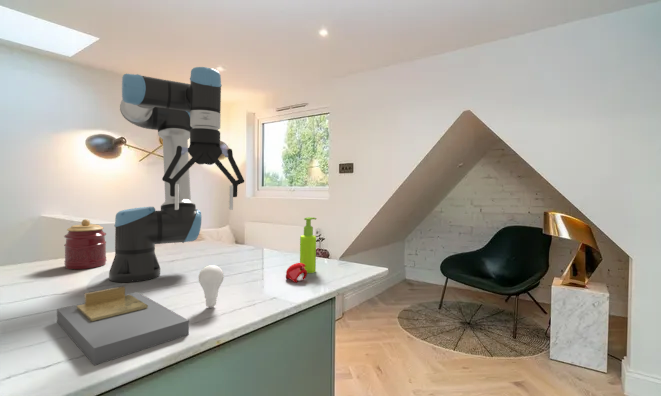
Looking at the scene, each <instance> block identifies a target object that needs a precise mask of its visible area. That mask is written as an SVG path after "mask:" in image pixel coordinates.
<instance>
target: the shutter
mask: <svg viewBox="0 0 661 396" xmlns="http://www.w3.org/2000/svg"><path fill="white" fill-rule="evenodd" d="M125 295H126V296H125ZM84 303H85V304H83V303H82V304H83V305H79V304H77V305H78V306H77V309H78V310H79V311H80V312H81V313H82V314H83V315H85V316H86V317H87V318H88V319H89V320H90V321H91V322H92V321H96V320H100V319H104V318H108V317H112V316H116V315H120V314H124V313H129V312H133V311H137V310H141V309H145V308H148V305H146V304H145V303H143V302H141V301H140V300H138V299H136V298H135V297H133V296H131V295H127V294H126V287H125V286H124V285H122V286H115V287H112V288H106V289H101V290H95V291H91V292H85V293H84Z"/></svg>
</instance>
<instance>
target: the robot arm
mask: <svg viewBox="0 0 661 396" xmlns="http://www.w3.org/2000/svg"><path fill="white" fill-rule="evenodd" d="M189 77H190V78H189V83H185V82H181V81H174V80H168V79H163V78H157V77H152V76H151V77H150V76H146V75H141V74H138V73H137V74H134V73H125V74H123V75H122V77H121V97H122V99H121V101H120V104H119V111H120V113H121V115H122V117H123V118H124V119H125V120H126V121H128V122H129V123H131V124H132V125H134V126H136V127H140V128H143V129H146V130H147V129H148V130H153V131H157V136H158V137H159V138H161V140H162V153H163V157H162V158H163V177H162V179H161V181H163V182H164V202H163V203H162V204H161V205H160V210H156V208H155V207H154V206H143V207H134V208H128V209H124V210H123V209H122V210H119V211H118V212H116V214H115V219H114V221H115V222H114V223H115V224H114V228H115V229H114V230H115V235H114V237H115V239H114V241H115V242H114V251H115V253H114V258H113V260H112V263H111V266H110V267H109V269H110V270H109V272H108V280H109V281H111V282H115V283H134V282H135V283H136V282H142V281H148V280H151V279H155V278H158V277H159V276H160V275H161V266H160V263H159V261H158V257H157V255H156V252H155V251H156V250H155V247H156V245H161V244H162V245H164V244H176V243H177V244H178V243H183V244H184V243H189V242H194V241H197V239H198V237H199V235H200V231H201V226H202V217H203V216H202V212H201V210H200V209H196V204H195V202H193V201H192V200H191V198H192V197H191V196H192V195H191V181H190V179H191V178H190V168H191V167H193V165H195V164H198V165H207V166H211V165H213V164H215V166H216V167H217V168H218V169H219V170H220V171H221V172H222V174H224V176H225V177H226V178H227V179H228V181H229V182H230V183H231V184H232V185H230V184H229V193H228V195H229V198H228V199H229V201H228V202H229V203H228V204H229V207H228V209H229V210H230V211H233V209H234V198H237V197H238V186H239V185H241V184H244V183H245V179H244V177H243V175H242V173H241V171H240V169H239V167H238V164H237V163H236V161H235V158H234V156H233V155H234V154H233V149H232V148H228V149H222V148H221V131H220V129H221V112H222V111H221V109H222V106H221V102H222V78H221V74H220V72H219V71H218V70H216V69H214V68H213V67H212V68H210V67H206V66H196V67H193V68H192V69H191V70H190V76H189ZM188 140H189V144H188ZM222 154H223V155H224V157H225V158H227V159H228V162H229V163H230V166H231V168H232V170H233V172H234V174H235V176H236V178H237V179H235V178H234V176H233V175H232V173H230V171H229V170H228V169H227V168H226V167H225V166H224V165H223V163H222V162H221V160H220V159H219V158H220V157H221V156H222ZM189 156H190V157H191V158H190V159H189Z"/></svg>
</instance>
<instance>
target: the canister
mask: <svg viewBox="0 0 661 396" xmlns="http://www.w3.org/2000/svg"><path fill="white" fill-rule="evenodd" d="M80 223H81V224H75V225H71V226H70V227H69V228H67V229H66V231H68V232H67V233H66V234H65V235H63V237H64V238H65V243H64V266H65V267H64V268H65V269H67V270H87V269H93V268H99V267H102V266H105V265H106V262H107V253H106V252H107V251H106V250H107V248H106V247H107V241H106V240H105V239H106V235H107V233H106V232H105V231H103V230H104V227H103V226H101V225H99V224H95V223H92V224H91V222H90V220H89V219H86V218H85V219H83V220H82V221H81V222H80Z"/></svg>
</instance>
